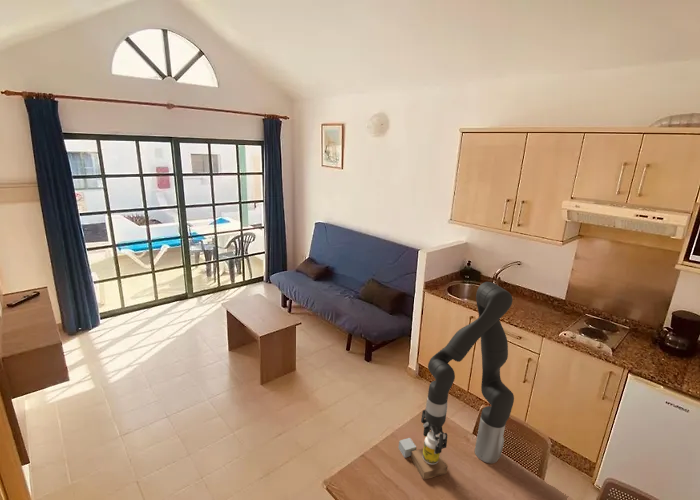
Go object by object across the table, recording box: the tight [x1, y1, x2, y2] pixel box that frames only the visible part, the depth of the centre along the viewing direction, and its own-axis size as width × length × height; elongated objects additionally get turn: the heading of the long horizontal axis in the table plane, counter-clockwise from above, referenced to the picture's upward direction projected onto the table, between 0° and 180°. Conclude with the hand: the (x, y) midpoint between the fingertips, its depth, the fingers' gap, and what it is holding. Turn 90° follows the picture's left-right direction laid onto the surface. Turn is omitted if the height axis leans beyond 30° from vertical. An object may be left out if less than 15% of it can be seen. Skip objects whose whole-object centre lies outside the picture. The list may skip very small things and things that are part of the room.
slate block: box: [398, 437, 417, 459], centre depth 147 cm, size 5×5×4 cm
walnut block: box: [410, 448, 448, 480], centre depth 141 cm, size 10×10×4 cm
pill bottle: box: [422, 430, 441, 465], centre depth 139 cm, size 6×6×11 cm
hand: (431, 443), depth 138 cm, fingers open, 8 cm apart
